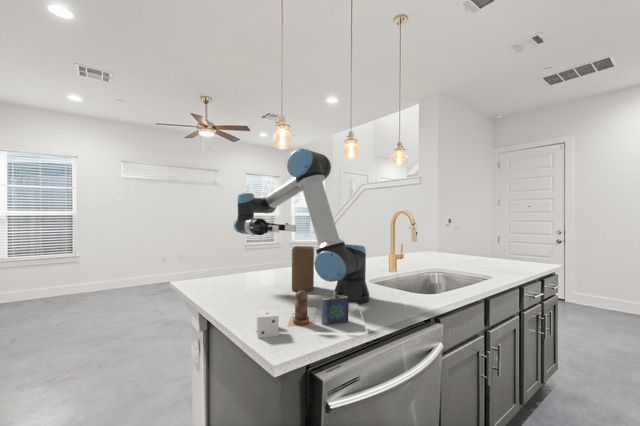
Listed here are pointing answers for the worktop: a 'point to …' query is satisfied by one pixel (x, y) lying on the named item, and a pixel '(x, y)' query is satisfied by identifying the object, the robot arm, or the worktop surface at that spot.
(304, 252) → the wooden block
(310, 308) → the board
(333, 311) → the flask
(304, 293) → the pawn
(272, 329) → the white die
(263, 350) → the worktop surface
